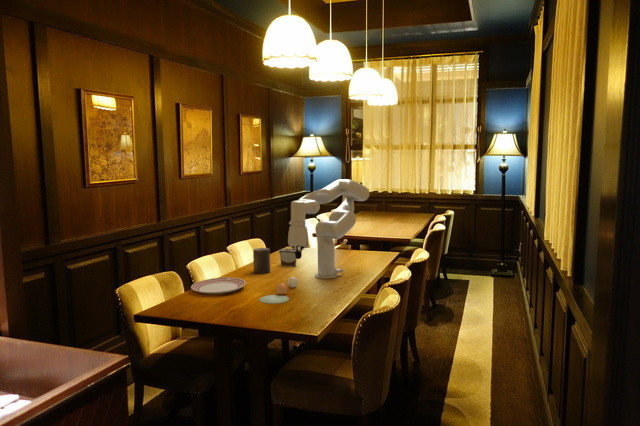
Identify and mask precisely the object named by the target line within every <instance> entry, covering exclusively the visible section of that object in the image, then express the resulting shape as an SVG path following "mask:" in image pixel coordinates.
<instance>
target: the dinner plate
mask: <svg viewBox="0 0 640 426" xmlns="http://www.w3.org/2000/svg"><path fill="white" fill-rule="evenodd" d="M246 284H247V283H246V281H245V280H244V279H242V278H238V277H214V278H207V279H204V280H203V279H202V280H200V281H196V282H194V283H193V284H192V285H191V286H190V289H191V290H193V291H195V292H198V293H201V294H206V295H224V294H229V293H230V294H231V293H233V292H235V291H237V290H240V289H242V288H243V287H244V286H245V285H246Z"/></svg>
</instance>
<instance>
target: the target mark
mask: <svg viewBox="0 0 640 426" xmlns="http://www.w3.org/2000/svg"><path fill="white" fill-rule="evenodd" d="M258 300H259V302H261V303H264V304H270V305H271V304H273V305H275V304H282V303H286V302H288V301H289V300H290V297H289V296H287V295H284V294H283V295H280V294H270V295H269V294H268V295H265V296H262V297H260V298H259V299H258Z"/></svg>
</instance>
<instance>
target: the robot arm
mask: <svg viewBox="0 0 640 426" xmlns="http://www.w3.org/2000/svg"><path fill="white" fill-rule="evenodd" d="M340 196H342V202H341V203H340V205H339V206H338V207H337V208H336V209H335V210H333V211H332V212H331V213H330V215H329V217H328V220H324V219H323V220H319V221H318V222H317V223H316V225H315V235H316V241H317V243H316V244H317V273H315V275H314V276H315V277H316V278H318V279H322V280H323V279H335V278H337V277H338V276H339V275H338V273H339V274H340V273H344V268H343V269H342V268H341V269H340V268H337V267H336V266H335V265H336V262H335V261H336V260H335V259H336V251H335V249H336V247H335V246H336V245H335V242H334V240H339V239H341V238H343V237H344V236H345V235H347V233H348V232H350V231H351V230H352V229H353V227H354V226H355V224H356V222H357V216H356V214H355V204H354V203H355V202H354V201H357V202H365V201H367V200H368V199H369V198H370V191H369V188H368V187H367V186H365V185H363V184H361V183H359V182H357V181H354V180H353V179H346V178H345V179H342V178H341V179H337V180H335V181H333V182H331V183H330V184H328V185H327V186H325V187H323V188H321V189H319V190H316V191H312V192H310V193H307V194H305V195H304V196H301V197H300V198H298V199H297V200H293V201H291V203H290V221H289V222H288V225H290V226H289V229H288V234H287V235H288V237H287V244H288V247H289V248H290V249H294V251H295V257H296V260H300V259H301V258H302V251H303V250H304V249H308V248H309V234H308V227H307V226H306V215H307V214H308V215H315V214H317V213H318V212H319V211H320V208H321V207H320V206H321V205H323V204H329V203H331V202H332V201H334V200H336V199H337V198H339V197H340Z"/></svg>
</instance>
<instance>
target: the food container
mask: <svg viewBox="0 0 640 426" xmlns="http://www.w3.org/2000/svg"><path fill="white" fill-rule="evenodd" d="M278 254H279V259H280V266H281V267H293V268H295V267H297V259H296V257H295V251H294V249H293V248H281V249H279V250H278Z"/></svg>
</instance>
